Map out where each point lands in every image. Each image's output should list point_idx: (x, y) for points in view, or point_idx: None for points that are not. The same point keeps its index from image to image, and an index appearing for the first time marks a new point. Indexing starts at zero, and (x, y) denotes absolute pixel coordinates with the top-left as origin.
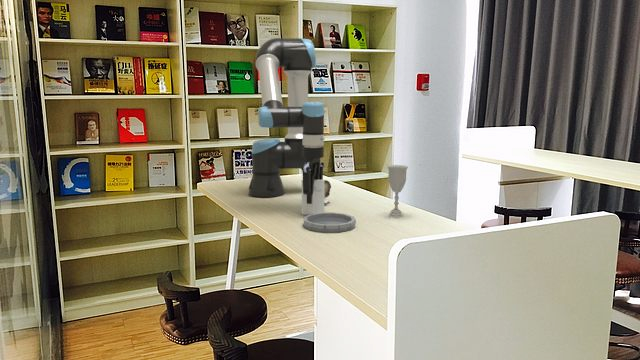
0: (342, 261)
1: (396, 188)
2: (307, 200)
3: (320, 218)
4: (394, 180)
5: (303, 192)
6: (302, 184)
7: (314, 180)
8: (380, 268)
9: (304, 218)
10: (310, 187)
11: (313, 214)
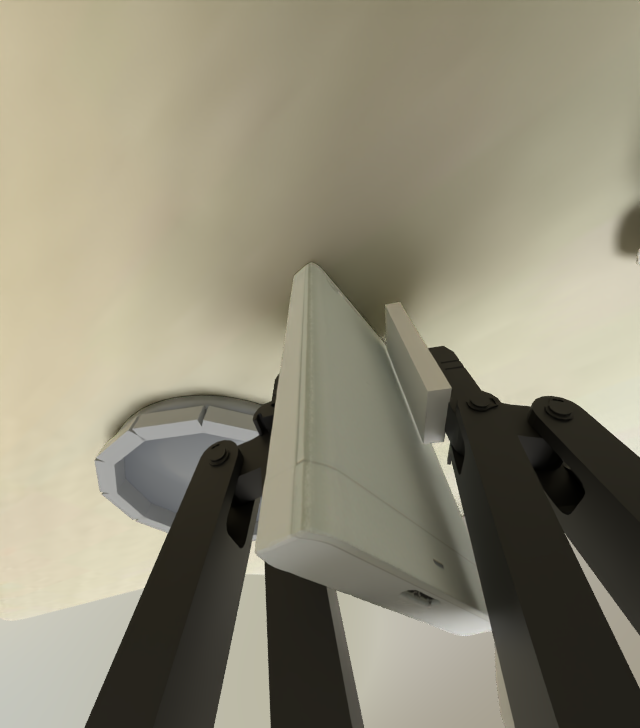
0: (51, 573)
1: (495, 662)
2: (275, 396)
3: (237, 441)
4: (504, 719)
5: (204, 457)
6: (270, 477)
7: (398, 611)
8: (98, 598)
9: (121, 441)
10: (245, 550)
11: (215, 431)
